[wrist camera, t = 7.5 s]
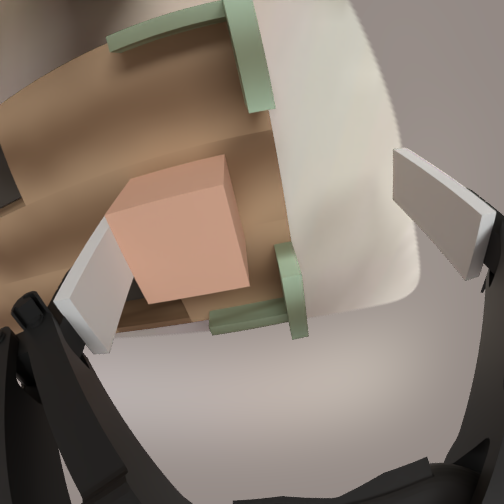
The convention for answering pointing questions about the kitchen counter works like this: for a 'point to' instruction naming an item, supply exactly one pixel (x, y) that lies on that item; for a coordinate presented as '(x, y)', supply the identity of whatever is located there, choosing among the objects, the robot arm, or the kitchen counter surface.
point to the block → (181, 231)
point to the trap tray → (148, 161)
